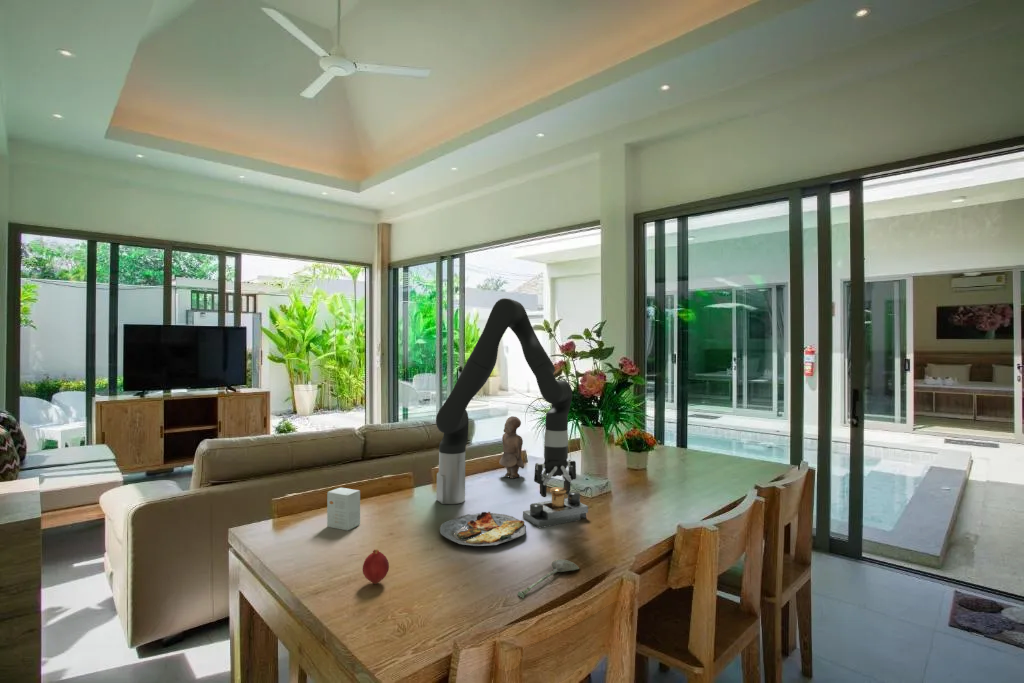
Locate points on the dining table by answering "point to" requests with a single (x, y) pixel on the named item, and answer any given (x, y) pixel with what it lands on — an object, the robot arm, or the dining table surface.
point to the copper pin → (557, 497)
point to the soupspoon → (558, 567)
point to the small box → (343, 508)
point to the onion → (375, 567)
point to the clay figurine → (512, 447)
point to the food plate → (483, 529)
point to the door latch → (556, 511)
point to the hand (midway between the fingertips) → (555, 494)
